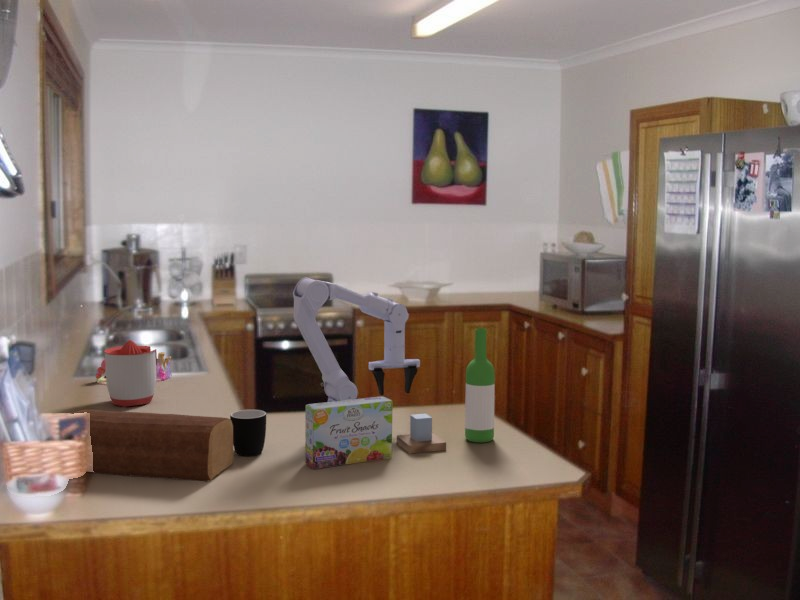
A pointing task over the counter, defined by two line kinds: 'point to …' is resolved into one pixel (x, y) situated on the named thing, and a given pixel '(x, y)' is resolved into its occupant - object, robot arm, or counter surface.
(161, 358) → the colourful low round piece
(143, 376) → the citrus juicer
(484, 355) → the wine bottle
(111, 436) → the bread
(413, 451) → the base board
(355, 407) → the snack box
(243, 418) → the mug
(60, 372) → the counter surface
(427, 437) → the block
